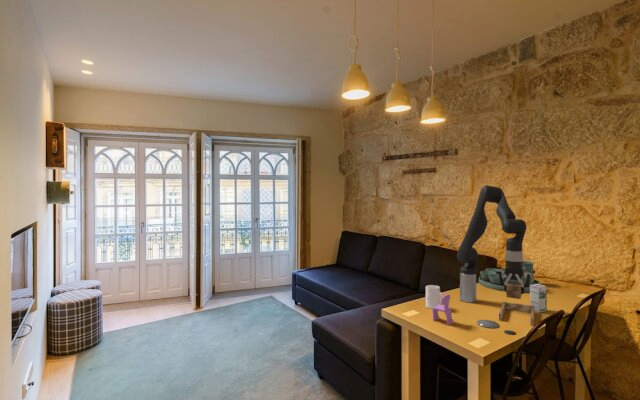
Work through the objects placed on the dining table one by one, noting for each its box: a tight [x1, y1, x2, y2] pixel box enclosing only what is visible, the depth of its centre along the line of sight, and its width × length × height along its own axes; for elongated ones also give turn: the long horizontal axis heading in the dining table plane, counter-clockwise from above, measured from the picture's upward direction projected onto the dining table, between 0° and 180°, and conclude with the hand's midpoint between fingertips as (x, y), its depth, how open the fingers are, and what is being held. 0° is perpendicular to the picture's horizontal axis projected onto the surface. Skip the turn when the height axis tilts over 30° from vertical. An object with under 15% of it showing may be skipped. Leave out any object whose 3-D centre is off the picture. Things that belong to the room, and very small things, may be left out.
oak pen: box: [498, 301, 536, 327], centre depth 187 cm, size 15×23×4 cm, turn 147°
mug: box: [424, 284, 445, 310], centre depth 203 cm, size 8×12×12 cm
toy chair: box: [432, 293, 454, 326], centre depth 181 cm, size 8×9×15 cm
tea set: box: [478, 259, 543, 293], centre depth 249 cm, size 40×40×16 cm
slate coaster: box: [476, 319, 499, 329], centre depth 176 cm, size 10×10×1 cm
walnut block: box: [505, 282, 522, 300], centre depth 169 cm, size 6×6×6 cm
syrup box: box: [529, 284, 548, 313], centre depth 195 cm, size 6×6×14 cm
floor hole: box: [503, 329, 517, 336], centre depth 165 cm, size 5×5×1 cm
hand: (514, 293), depth 171 cm, fingers closed on walnut block, 6 cm apart
